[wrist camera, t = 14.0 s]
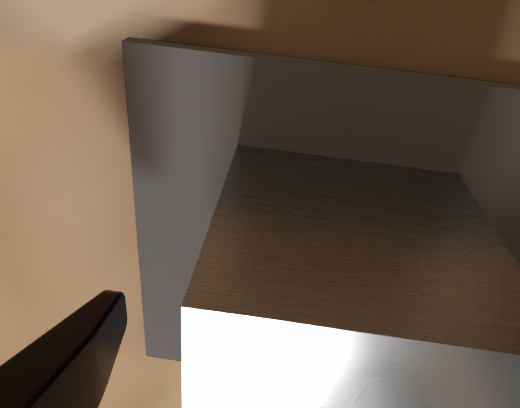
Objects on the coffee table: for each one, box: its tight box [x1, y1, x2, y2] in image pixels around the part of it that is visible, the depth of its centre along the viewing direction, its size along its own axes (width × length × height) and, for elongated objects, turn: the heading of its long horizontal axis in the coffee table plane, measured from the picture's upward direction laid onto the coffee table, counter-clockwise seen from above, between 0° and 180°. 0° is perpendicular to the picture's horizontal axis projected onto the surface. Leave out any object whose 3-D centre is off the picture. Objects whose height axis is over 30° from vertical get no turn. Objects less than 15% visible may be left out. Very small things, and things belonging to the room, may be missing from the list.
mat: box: [122, 37, 520, 361], centre depth 11 cm, size 10×10×1 cm
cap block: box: [181, 145, 520, 408], centre depth 9 cm, size 6×5×5 cm
